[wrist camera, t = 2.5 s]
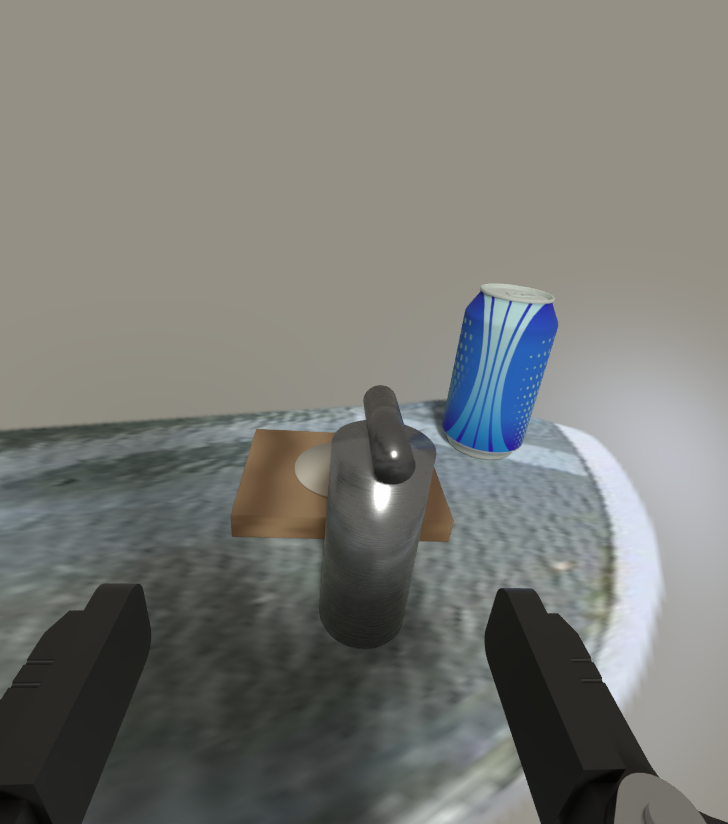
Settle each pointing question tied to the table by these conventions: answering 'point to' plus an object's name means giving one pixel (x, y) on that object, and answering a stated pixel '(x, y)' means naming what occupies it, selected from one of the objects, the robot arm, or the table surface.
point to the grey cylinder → (373, 522)
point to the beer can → (498, 369)
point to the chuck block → (304, 490)
